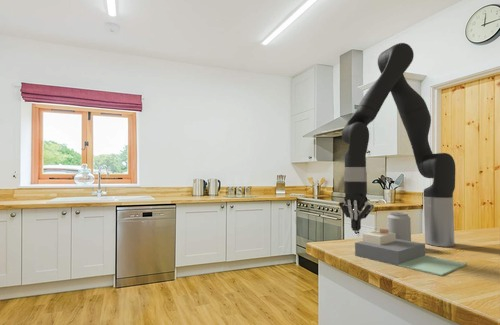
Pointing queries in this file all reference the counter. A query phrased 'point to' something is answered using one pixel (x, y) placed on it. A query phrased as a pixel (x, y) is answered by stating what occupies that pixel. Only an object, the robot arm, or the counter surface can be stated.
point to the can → (399, 225)
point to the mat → (432, 265)
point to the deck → (390, 251)
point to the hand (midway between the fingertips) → (355, 230)
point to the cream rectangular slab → (379, 237)
